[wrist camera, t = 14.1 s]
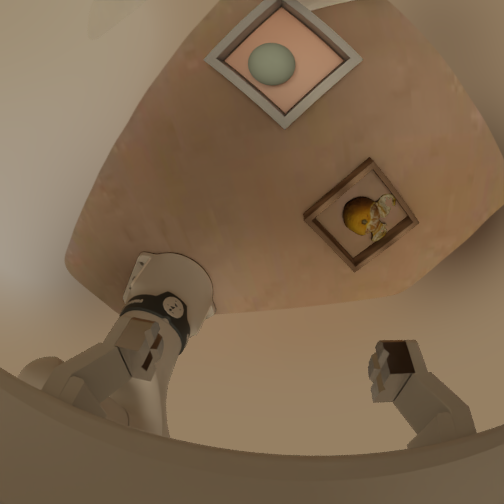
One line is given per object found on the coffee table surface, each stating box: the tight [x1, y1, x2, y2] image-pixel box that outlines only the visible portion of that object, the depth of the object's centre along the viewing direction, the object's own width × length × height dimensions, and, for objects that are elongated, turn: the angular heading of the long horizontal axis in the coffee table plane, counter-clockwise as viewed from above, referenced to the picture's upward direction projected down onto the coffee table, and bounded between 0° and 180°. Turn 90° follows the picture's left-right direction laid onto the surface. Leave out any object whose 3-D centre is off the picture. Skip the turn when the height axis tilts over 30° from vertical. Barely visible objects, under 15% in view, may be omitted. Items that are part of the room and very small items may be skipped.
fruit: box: [343, 194, 396, 242], centre depth 42 cm, size 8×8×4 cm
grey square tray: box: [204, 0, 363, 130], centre depth 31 cm, size 14×14×4 cm
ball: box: [248, 43, 295, 86], centre depth 31 cm, size 6×6×6 cm
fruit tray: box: [304, 157, 419, 272], centre depth 42 cm, size 14×13×2 cm
